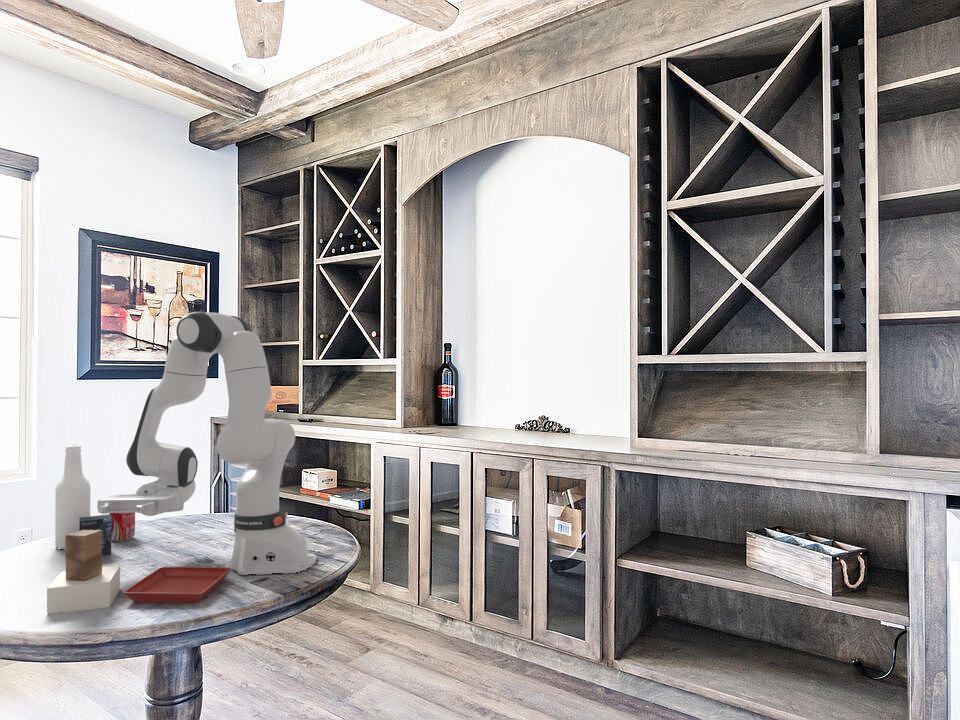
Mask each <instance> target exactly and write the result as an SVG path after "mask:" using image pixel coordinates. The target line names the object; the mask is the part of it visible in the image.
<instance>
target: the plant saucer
mask: <svg viewBox="0 0 960 720" xmlns="http://www.w3.org/2000/svg"><path fill="white" fill-rule="evenodd" d="M231 570H232V569H231V568H230V567H211V566H210V567H208V566H207V567H205V566H204V567H203V566H202V567H200V566H199V567H197V566H195V567H193V566H189V567H187V566H186V567H185V566H182V567H181V566H180V567H179V566H175V567H174V566H162V567H159V568H158V569H156V570H154V571H153V572H151V573H150V574H149V575H146V576H145V577H143V578H142V579H141V580H139V581H138V582H136V583H135V584H133V585H131V586H130V587H129V588H127V589H125V590H124V591H123V594H124V595H125V597H127V598H129V599H130V600H131V601H133V603H159V604H160V603H167V604H168V603H171V604H172V603H180V604H181V603H183V604H185V603H187V604H188V603H193V604H194V602H195V603H198V602H200V601H201V600H202V599H204V598H205V597H206V596H207V595H208V594H209V593H210V592H211V591H213V590H214V589H215V588H216V587H217V586H219V585H220V584H221V583H222V582H223V581H224V580H225V579H226V577H227V576H228V574H229V573H230V571H231ZM221 581H222V582H221ZM220 582H221V583H220ZM213 588H214V589H213ZM206 594H207V595H206Z"/></svg>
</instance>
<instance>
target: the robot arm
mask: <svg viewBox="0 0 960 720" xmlns="http://www.w3.org/2000/svg"><path fill="white" fill-rule="evenodd" d="M215 354H218V355H220V356H221V358H222V362H223V367H224V373H225V381H226V385H227V386H226V387H227V395H228V409H227V410H228V412H227V415H226V416H227V417H226V421H225V424H224V426H223V428H222V430H221V432H220V433H219V434H218V436H217V439H216V451H217V454H218V456H219V457H220V458H221V460H222V461H223V462H225V463H228V464H231V465H246V467H245V470H244V471H243V474H242V476H241V477H240V478H239V479H238V481H237V483H236V487H235V497H236V500H235V501H236V502H235V504H236V505H235V507H236V508H235V510H236V511H235V513H234V519H233V528H234V529H233V530H234V534H235V535H234V545H233V551H232V555H231V559H230V563H229V568H231V570H232V571H235V572H237V574H238V575H240V576H251V575H250V574H256V575H271V574H272V573H283V574H297V573H296V572H298V573H301V572H300V571H302V572H304V571H306V570H308V569H310V568H311V567H313V565H314V564H315V563H316V562H317V556H316V553H315V554H314V553H309V550H308V544H307V541H306V538H305V537H304V536H303V535H301V534H300V533H298V531H296V530H294V529H293V528H292V527H291V526H289V525H288V524H287V523H286V522H287V518H288V512H285V513H284V512H283V511H281V509H280V485H281V477H282V472H283V469H284V466H285V462H286V459H287V456H288V454H289V453H290V451H291V449H293V446H294V445H295V442H296V432H295V429H294V427H293V426H292V425H291V424H290V423H289V421H286V420H284V419H283V420H282V419H277V418H267V419H265V414H266V408H267V404H268V403H269V401H270V400H271V397H272V396H273V395H272V394H273V392H272V385H271V380H270V375H269V368H268V364H267V358H266V355H265V354H266V353H265V351H264V347H263V344H262V342H261V340H260V337H259V336H258V335H257V334H256V333H255V332H253V331H252V329H251V328H250V326H249V324H248V322H247V321H246V320H244V319H242V318H241V317H238V316H235V315H228V314H222V313H219V312H206V311H205V312H202V311H195V312H194V311H193V312H189V313H186V314H184V315H182V317H181V318H180V319H179V321H178V323H177V325H176V336H174V338H172V340H171V342H170V344H169V348H168V351H167V355H166V360H165V365H164V370H163V371H164V372H163V375H162V378H161V381H160V382H159V384H158V385H156V386H154V387H152V389H151V390H150V392H149V393H148V396H147V398H146V399H145V403H144V406H143V410H142V413H141V416H140V420H139V422H138V426H137V428H136V432H135V435H134V437H133V438H134V439H133V440H132V443H131V444H130V447H129V448H128V452H127V454H126V459H125V461H126V465H127V467H128V469H129V471H130V472H131V473H132V474H133V475H135V476H142V477H154V478H158V479H157V480H155V481H151V482H149V483H148V482H147V483H145V484H143V485H141V486H140V487H139V488H138V489H137V490H136V492H135V493H124V494H113V495H109V496H106V497H105V496H104V497H102V498H99V499H98V500H97V502H96V503H97V504H96V505H97V507H96V509H97V512H98V514H100V515H107V514H109V513H135V514H136V513H137V514H142V515H144V516H146V517H154V516H156V515H161V514H164V513H172V512H180V511H183V510H184V507H185V504H184V503H186V502H188V501H189V500H190V499H191V498H192V497H193V495H194V493H195V491H196V482H195V478H196V477H197V472H198V466H199V465H198V458H197V456H196V454H195V452H194V450H193V449H192V448H191V447H187V446H184V445H183V446H182V445H178V444H171V443H170V444H169V443H163V442H158V441H157V439H156V436H157V433H158V430H159V427H160V424H161V422H162V421H161V419H162V417H163V415H164V413H165V412H166V410H168V409H169V408H171V407H175V406H180V405H184V404H188V403H191V402H193V401H195V400H197V399H198V398H199V397H200V396H201V395H202V394H203V392H204V390H205V387H206V384H207V378H208V377H207V374H208V366H209V361H210V358H212V356H214V355H215ZM309 567H310V568H309ZM307 568H308V569H307ZM303 570H304V571H303ZM248 574H249V575H248ZM272 575H273V574H272Z"/></svg>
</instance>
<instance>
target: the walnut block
mask: <svg viewBox="0 0 960 720" xmlns="http://www.w3.org/2000/svg"><path fill="white" fill-rule="evenodd" d="M102 567H103V555H102V530H81V531H77V532H74V533H71V534H68V535H66V550H65V571H66V580H88V579H90V578H92V577H95V576H97V575H100V574H102Z"/></svg>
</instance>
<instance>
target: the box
mask: <svg viewBox="0 0 960 720" xmlns="http://www.w3.org/2000/svg"><path fill="white" fill-rule="evenodd" d="M81 530H102V556H105V555H106V556H108V555H109V554H110V555H112V540H111V537H112V518H111V514H109V513H107V514H100V515H90V517H80V522H79V531H81Z"/></svg>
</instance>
